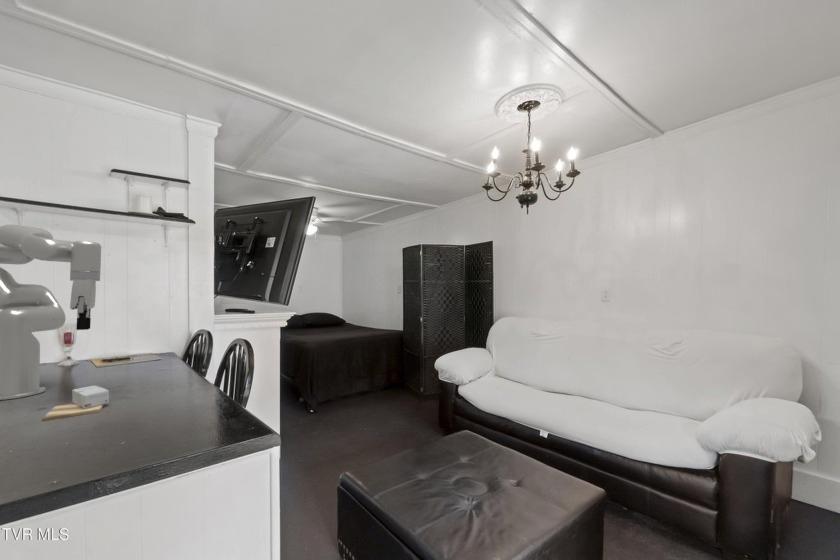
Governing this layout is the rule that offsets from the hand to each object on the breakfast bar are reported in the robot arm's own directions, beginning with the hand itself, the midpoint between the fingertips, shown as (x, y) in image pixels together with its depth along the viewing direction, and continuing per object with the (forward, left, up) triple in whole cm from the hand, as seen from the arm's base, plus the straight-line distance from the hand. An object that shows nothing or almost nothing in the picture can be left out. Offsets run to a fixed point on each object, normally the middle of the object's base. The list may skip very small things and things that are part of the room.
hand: (83, 329), depth 118 cm
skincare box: (+7, +1, -21) cm, 22 cm away
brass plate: (+16, +1, -24) cm, 29 cm away
